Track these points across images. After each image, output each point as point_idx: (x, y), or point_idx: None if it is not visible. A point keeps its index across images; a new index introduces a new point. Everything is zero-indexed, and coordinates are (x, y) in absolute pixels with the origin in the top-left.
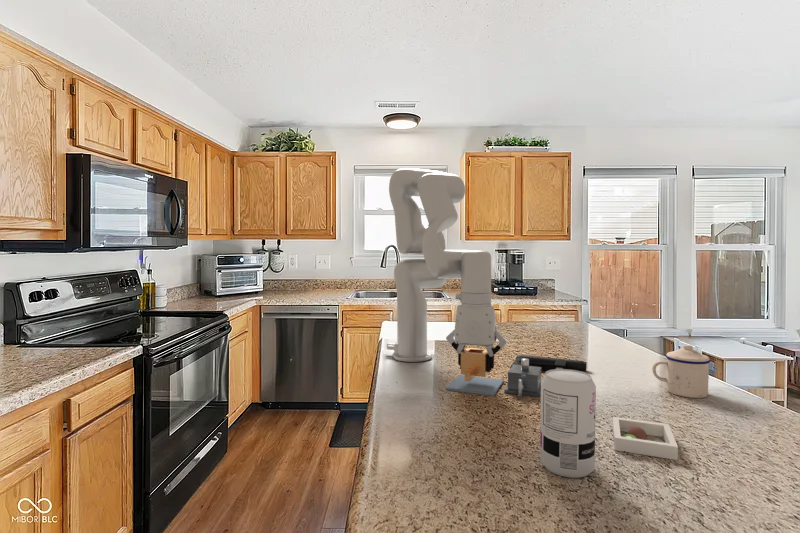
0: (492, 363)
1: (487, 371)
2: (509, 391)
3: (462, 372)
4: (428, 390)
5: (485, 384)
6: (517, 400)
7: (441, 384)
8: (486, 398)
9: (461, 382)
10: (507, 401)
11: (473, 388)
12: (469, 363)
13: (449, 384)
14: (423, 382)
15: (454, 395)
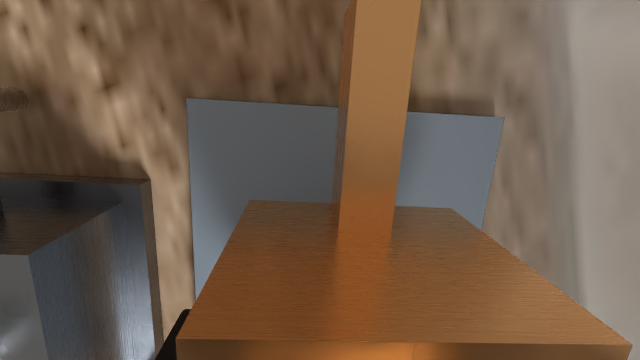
0: (169, 339)
1: None
2: (111, 181)
3: (443, 212)
4: (598, 67)
5: None
6: (35, 65)
7: (529, 207)
8: (226, 35)
9: None
10: (86, 21)
11: (332, 156)
12: (412, 251)
13: (488, 181)
14: (635, 207)
15: (429, 23)
